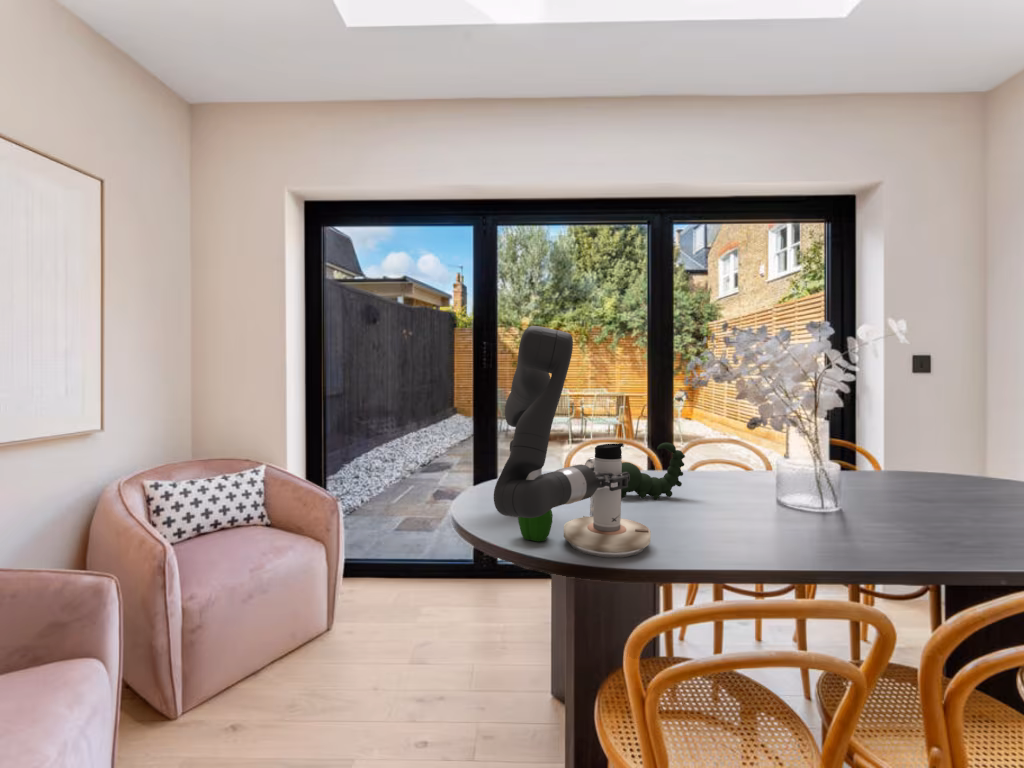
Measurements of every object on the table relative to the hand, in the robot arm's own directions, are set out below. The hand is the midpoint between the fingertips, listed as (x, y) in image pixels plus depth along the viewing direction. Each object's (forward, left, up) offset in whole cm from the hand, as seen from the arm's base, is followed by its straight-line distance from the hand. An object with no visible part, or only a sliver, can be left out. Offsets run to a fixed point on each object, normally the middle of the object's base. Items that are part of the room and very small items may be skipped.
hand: (611, 473), depth 127 cm
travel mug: (-1, -2, -13) cm, 13 cm away
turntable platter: (-1, -2, -15) cm, 15 cm away
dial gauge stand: (-5, +12, -17) cm, 21 cm away
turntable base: (-1, -2, -16) cm, 17 cm away
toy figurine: (+8, +47, -17) cm, 50 cm away
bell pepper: (-18, -2, -17) cm, 25 cm away
